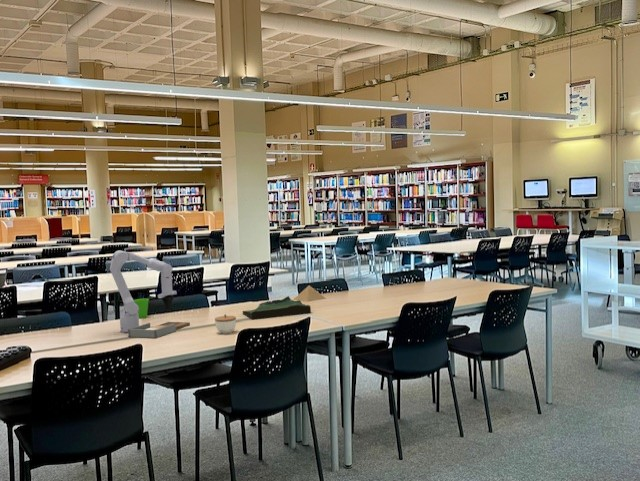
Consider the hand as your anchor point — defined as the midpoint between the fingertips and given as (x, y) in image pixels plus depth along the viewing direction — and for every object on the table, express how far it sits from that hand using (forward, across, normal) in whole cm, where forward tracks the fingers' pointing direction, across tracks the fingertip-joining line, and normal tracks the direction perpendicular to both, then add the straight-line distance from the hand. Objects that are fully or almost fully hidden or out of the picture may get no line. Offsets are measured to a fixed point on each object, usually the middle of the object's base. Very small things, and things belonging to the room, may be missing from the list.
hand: (168, 309), depth 335 cm
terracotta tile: (+9, -15, -4) cm, 18 cm away
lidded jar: (+10, -10, -42) cm, 44 cm away
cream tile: (+9, -22, -4) cm, 24 cm away
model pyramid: (+11, +100, -43) cm, 109 cm away
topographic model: (+10, +44, -45) cm, 64 cm away
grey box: (+9, -20, -4) cm, 23 cm away
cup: (+10, +19, +34) cm, 40 cm away
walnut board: (+10, -4, -4) cm, 11 cm away
